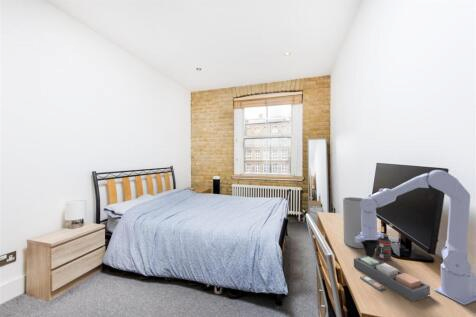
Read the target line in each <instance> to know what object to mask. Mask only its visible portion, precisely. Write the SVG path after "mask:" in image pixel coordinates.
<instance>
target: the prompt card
mask: <svg viewBox="0 0 476 317" xmlns="http://www.w3.org/2000/svg"><path fill="white" fill-rule="evenodd" d="M359 279H361V280H362V281H364V282H365V283H367V284H368V285H370V286H372V287H373V288H374V289H376V290H377V291H383V290H386V287H385V285H383V284H382V283H381V284H380V283H379V282H377V281H376V280H374V279H372V277H369V276H367V275H364V276H363V275H361V276H360V278H359Z"/></svg>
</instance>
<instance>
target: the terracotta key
mask: <svg viewBox="0 0 476 317" xmlns="http://www.w3.org/2000/svg"><path fill="white" fill-rule="evenodd" d="M396 281H397V282H399V283H401V284H403V285H405V286H406V287H408V288H410V289H412V290H413V289H416V288H419V287H420V281H421V280H420V279H418V278H416V277H414V276H413V275H410V274H408V273H406V272H403V274H399V275H396Z"/></svg>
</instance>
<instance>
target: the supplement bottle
mask: <svg viewBox="0 0 476 317" xmlns="http://www.w3.org/2000/svg"><path fill="white" fill-rule="evenodd" d="M383 234H384V238H378V239H376V240H377V241H379V244H378V245H377V247H376V249H375V256H376V257H377V258H378V259H379V260H383V261H390V260H391V259H392V241H391V240H390V239H389V235H388V234H387V233H383Z"/></svg>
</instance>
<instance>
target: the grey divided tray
mask: <svg viewBox="0 0 476 317" xmlns="http://www.w3.org/2000/svg"><path fill="white" fill-rule="evenodd" d="M365 257H369V256H367V255H363V256H362V255H361V256H359V257H354V258H353V267H355V268H356V269H358V270H360V271H361V272H363V273H364V274H366V275H368V277H369V276H370V278H373V280H374V279H375V281H376V280H377V281H378V283H379V282H380V283H381V284H382V285H383V286H386V287H387V288H389V289H391V290H392V291H394V290H395V292H396V293H398V294H400V295H401V296H403V297H404V296H405V297H404V298H406V299H408V300H409V299H410V300H409V301H411V300H412V301H411V302H413V301H414V302H416V301H415V300H417V301H419V300H418V299H420V300H422V299H421V298H423V297H426V296H428V295H430V296H431V286H430V285H428V284H426V283H425V282H422V281H421V280H420V287H419V288H416V289H413V290H412V289H410V288H408V287H406V286H405V285H403V284H401V283H399V282H397V281H396V275H394V276H391V277H388V276H386V275H385V274H383V273H381V272H379V271H377V270H376V266H372V267H370V266H368V265H367V264H365V263H363V262H361V261H360V259H361V258H365ZM370 258H372V259H374V260H376V261H378V262H379V264H384V263H385V262H383V261H380V259H379V260H378V259H377V258H375V257H374V256H373V257H370ZM403 273H404V272H402V271H400V270H399V269H398V275H399V274H403ZM428 297H429V296H428ZM426 298H427V297H426ZM423 299H424V298H423Z"/></svg>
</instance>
